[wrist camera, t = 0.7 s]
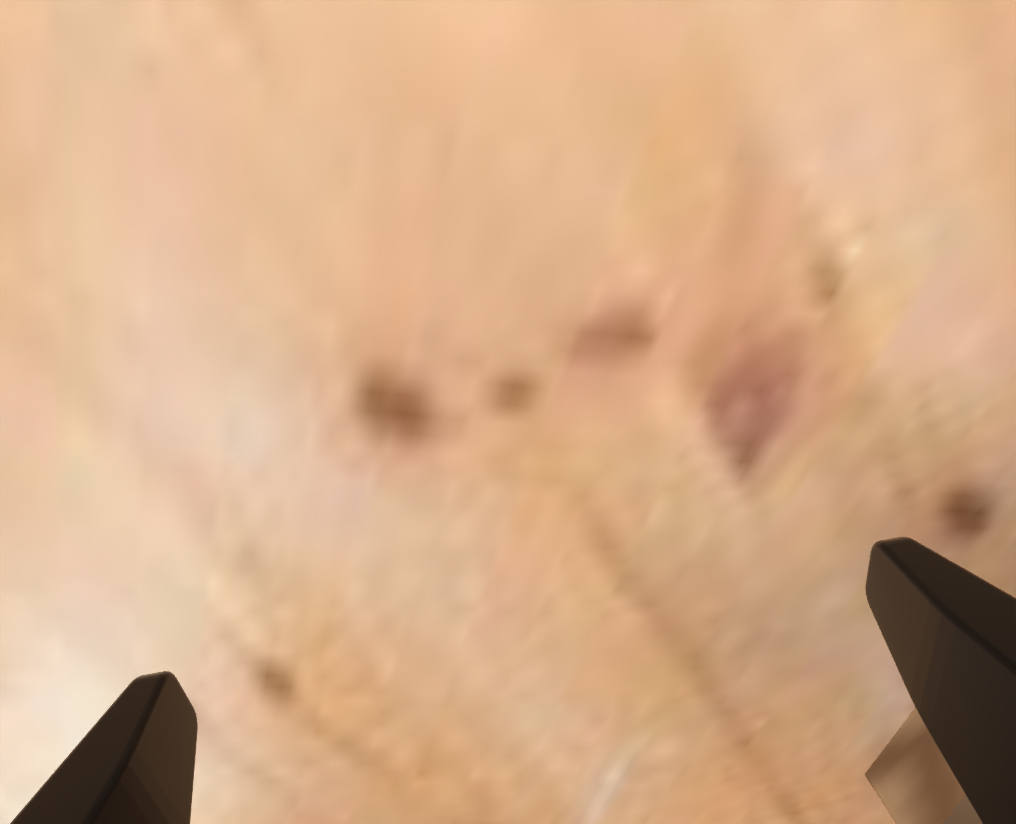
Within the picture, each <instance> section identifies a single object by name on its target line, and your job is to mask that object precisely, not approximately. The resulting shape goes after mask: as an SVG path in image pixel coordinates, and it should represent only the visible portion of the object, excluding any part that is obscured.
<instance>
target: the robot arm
mask: <svg viewBox="0 0 1016 824" xmlns="http://www.w3.org/2000/svg"><path fill="white" fill-rule="evenodd" d="M866 595H867V600H868V603H869V606H870V608H871V610H872V612H873V615H874V617H875V619H876V621H877V623H878V626H879V628H880V630H881V632H882V635H883V637H884V639H885V641H886V643H887V646H888V648H889V650H890V652H891V655H892V657H893V659H894V661H895V663H896V666H897V668H898V670H899V672H900V675H901V677H902V679H903V681H904V684H905V686H906V688H907V690H908V692H909V695H910V697H911V699H912V701H913V703H914V705H915V707H916V709H917V711H918V713H919V715H920V717H921V719H922V721H923V722H924V724H925V726H926V728H927V730H928V731H929V733H930V735H931V736H932V738H933V740H934V742H935V743H936V745H937V747H938V748H939V750H940V752H941V753H942V755H943V757H944V759H945V760H946V762H947V764H948V765H949V767H950V769H951V771H952V772H953V774H954V776H955V777H956V779H957V781H958V782H959V784H960V786H961V788H962V789H963V791H964V793H965V794H966V796H967V798H968V799H969V801H970V803H971V805H972V806H973V808H974V810H975V811H976V813H977V815H978V817H979V818H980V820H981V822H982V823H983V824H1016V598H1014V597H1013V596H1011V595H1009V594H1008V593H1006V592H1004V591H1002V590H1001V589H999V588H997V587H995V586H994V585H992V584H990V583H988V582H987V581H985V580H983V579H981V578H980V577H978V576H976V575H974V574H973V573H971V572H969V571H967V570H966V569H964V568H962V567H960V566H959V565H957V564H955V563H953V562H952V561H950V560H948V559H946V558H945V557H943V556H941V555H939V554H938V553H936V552H934V551H932V550H931V549H929V548H927V547H925V546H924V545H922V544H920V543H918V542H917V541H915V540H913V539H911V538H908V537H898V538H893V539H887V540H882V541H878V542H876V543H875V544H874V545H873V547H872V550H871V555H870V561H869V567H868V574H867V580H866ZM196 741H197V717H196V713H195V710H194V708H193V706H192V704H191V703H190V701H189V699H188V697H187V696H186V694H185V692H184V690H183V689H182V687H181V685H180V683H179V682H178V680H177V678H176V677H175V676H174V674H172V673H171V672H169V671H164V672H158V673H153V674H147V675H142V676H139V677H137V678H136V679H134V680H133V681H132V682H131V683H130V684H129V685H128V687H127V688H126V689H125V690H124V691H123V692H122V694H121V695H120V696H119V697H118V698H117V699H116V701H115V702H114V703H113V704H112V705H111V706H110V708H109V709H108V710H107V711H106V712H105V714H104V715H103V716H102V717H101V718H100V719H99V721H98V722H97V723H96V724H95V725H94V726H93V728H92V729H91V730H90V731H89V732H88V733H87V735H86V736H85V737H84V738H83V739H82V740H81V742H80V743H79V744H78V745H77V746H76V747H75V749H74V750H73V751H72V752H71V753H70V754H69V756H68V757H67V758H66V759H65V760H64V761H63V763H62V764H61V765H60V766H59V767H58V768H57V770H56V771H55V772H54V773H53V774H52V775H51V777H50V778H49V779H48V780H47V781H46V782H45V784H44V785H43V786H42V787H41V788H40V789H39V791H38V792H37V793H36V794H35V795H34V796H33V798H32V799H31V800H30V801H29V802H28V803H27V805H26V806H25V807H24V808H23V809H22V810H21V812H20V813H19V814H18V815H17V816H16V817H15V819H14V820H13V821H12V822H11V823H10V824H190V817H191V804H192V792H193V779H194V766H195V754H196Z"/></svg>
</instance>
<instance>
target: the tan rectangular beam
mask: <svg viewBox="0 0 1016 824" xmlns="http://www.w3.org/2000/svg"><path fill="white" fill-rule="evenodd" d="M865 776H866V777H867V779H868V780H869V782H870V783H871V785H872V787H873V788H874V790H875V791H876V793H877V795H878V796H879V798H880V799H881V801H882V802H883V804H884V806H885V807H886V809H887V810H888V812H889V814H890V815H891V817H892V818H893V820H894V821H895V823H896V824H983V823H982V822H981V820H980V818H979V817H978V815H977V813H976V811H975V810H974V808H973V806H972V805H971V803H970V801H969V799H968V798H967V796H966V794H965V793H964V791H963V789H962V788H961V786H960V784H959V782H958V781H957V779H956V777H955V776H954V774H953V772H952V771H951V769H950V767H949V765H948V764H947V762H946V760H945V759H944V757H943V755H942V753H941V752H940V750H939V748H938V747H937V745H936V743H935V742H934V740H933V738H932V736H931V735H930V733H929V731H928V730H927V728H926V726H925V724H924V722H923V721H922V719H921V717H920V715H919V713H918V711H917V709H916V708H915V709H914V711H913V712H912V713H911V715H910V716H909V717H908V718H907V720H906V721H905V722H904V724H903V725H902V726H901V728H900V729H899V730H898V732H897V733H896V734H895V736H894V737H893V738H892V739H891V741H890V742H889V743H888V745H887V746H886V747H885V749H884V750H883V751H882V753H881V754H880V755H879V757H878V758H877V759H876V760H875V762H874V763H873V764H872V766H871V767H870V768H869V770H868V771H867V772H866V774H865Z"/></svg>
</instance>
